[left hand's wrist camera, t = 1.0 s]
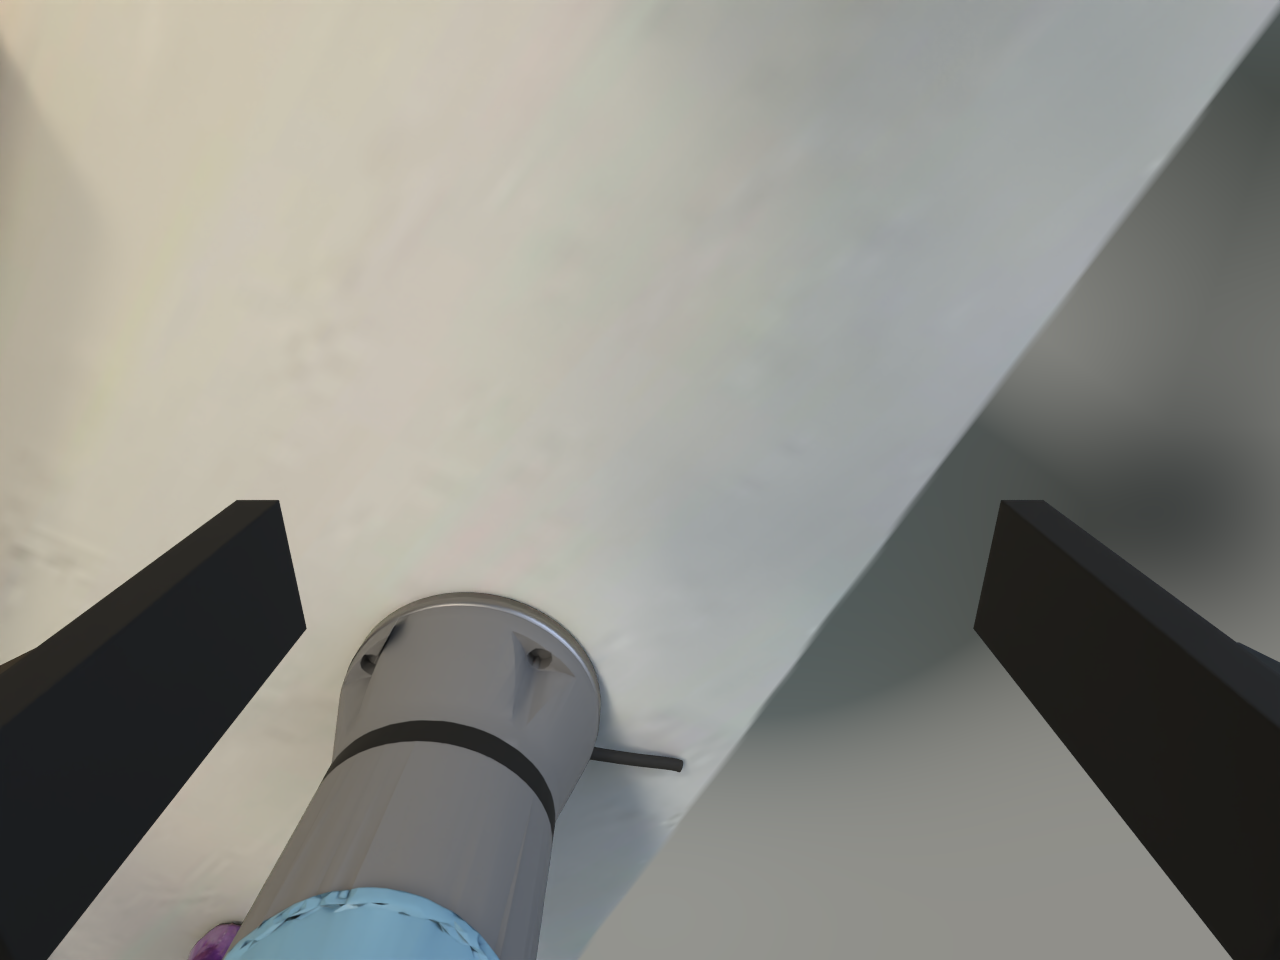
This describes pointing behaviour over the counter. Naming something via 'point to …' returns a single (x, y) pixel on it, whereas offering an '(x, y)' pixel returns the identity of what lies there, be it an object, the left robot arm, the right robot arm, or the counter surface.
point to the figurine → (214, 943)
